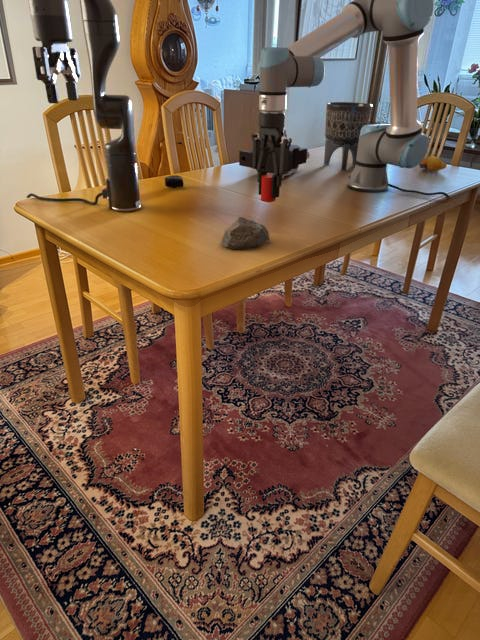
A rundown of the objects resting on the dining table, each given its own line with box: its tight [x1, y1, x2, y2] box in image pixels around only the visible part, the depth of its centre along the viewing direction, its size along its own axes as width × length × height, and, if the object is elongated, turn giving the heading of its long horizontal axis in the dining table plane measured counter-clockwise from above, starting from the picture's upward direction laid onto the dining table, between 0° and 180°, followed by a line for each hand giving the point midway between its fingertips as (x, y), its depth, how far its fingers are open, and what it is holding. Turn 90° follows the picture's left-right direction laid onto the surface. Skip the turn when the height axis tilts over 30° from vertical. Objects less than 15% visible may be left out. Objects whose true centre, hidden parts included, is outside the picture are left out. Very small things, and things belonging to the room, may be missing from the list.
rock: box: [221, 216, 270, 250], centre depth 119 cm, size 13×9×6 cm, turn 131°
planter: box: [323, 101, 374, 172], centre depth 204 cm, size 20×20×26 cm
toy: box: [418, 156, 448, 172], centre depth 207 cm, size 11×6×15 cm
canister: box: [260, 174, 277, 203], centre depth 137 cm, size 4×4×7 cm
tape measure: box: [164, 175, 184, 189], centre depth 171 cm, size 7×7×4 cm
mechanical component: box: [238, 127, 311, 179], centre depth 191 cm, size 22×21×30 cm
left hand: (64, 101), depth 101 cm, fingers open, 8 cm apart
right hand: (268, 195), depth 138 cm, fingers closed on canister, 5 cm apart
